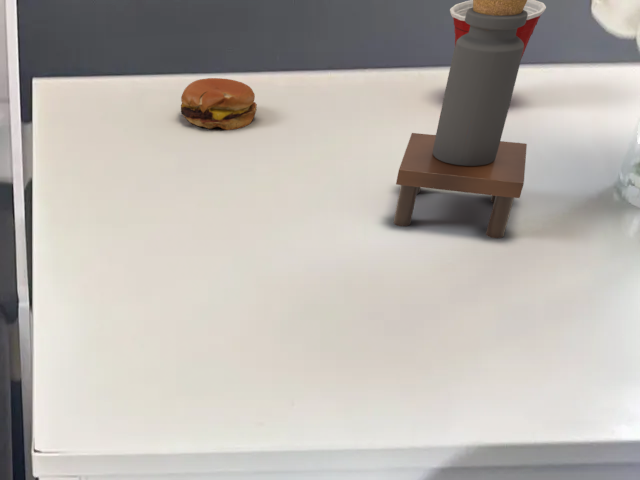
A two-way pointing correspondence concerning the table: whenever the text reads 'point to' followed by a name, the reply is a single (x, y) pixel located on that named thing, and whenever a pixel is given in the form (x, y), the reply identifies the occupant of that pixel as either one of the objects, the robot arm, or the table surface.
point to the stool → (461, 179)
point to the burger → (218, 103)
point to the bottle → (480, 83)
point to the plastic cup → (523, 32)
